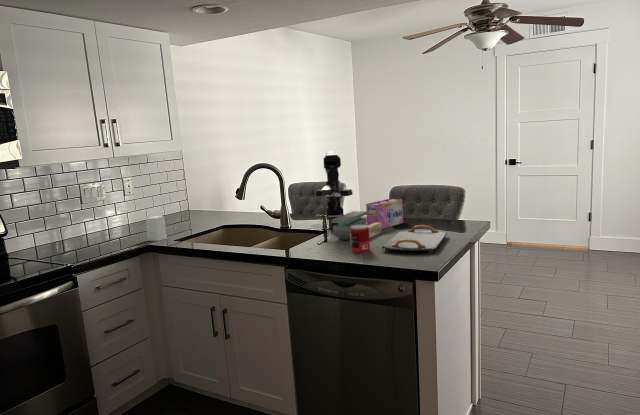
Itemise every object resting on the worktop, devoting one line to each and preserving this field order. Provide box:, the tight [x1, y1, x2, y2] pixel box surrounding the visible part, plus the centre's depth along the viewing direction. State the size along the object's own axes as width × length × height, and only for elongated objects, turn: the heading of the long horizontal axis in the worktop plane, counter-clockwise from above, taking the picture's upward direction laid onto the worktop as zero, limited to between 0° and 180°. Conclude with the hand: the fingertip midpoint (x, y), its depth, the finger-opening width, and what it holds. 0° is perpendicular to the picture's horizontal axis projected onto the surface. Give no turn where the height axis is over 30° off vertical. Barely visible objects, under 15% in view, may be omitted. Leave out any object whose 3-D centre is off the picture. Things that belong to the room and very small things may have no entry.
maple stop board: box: [349, 222, 383, 245], centre depth 233 cm, size 3×30×5 cm, turn 150°
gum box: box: [365, 198, 404, 230], centre depth 261 cm, size 24×8×14 cm, turn 134°
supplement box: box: [144, 215, 167, 242], centre depth 265 cm, size 7×7×13 cm
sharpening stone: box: [332, 210, 367, 240], centre depth 237 cm, size 25×8×11 cm, turn 152°
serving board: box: [381, 224, 448, 255], centre depth 213 cm, size 39×23×6 cm, turn 157°
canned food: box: [351, 224, 371, 254], centre depth 206 cm, size 8×8×11 cm
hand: (334, 209), depth 245 cm, fingers closed
